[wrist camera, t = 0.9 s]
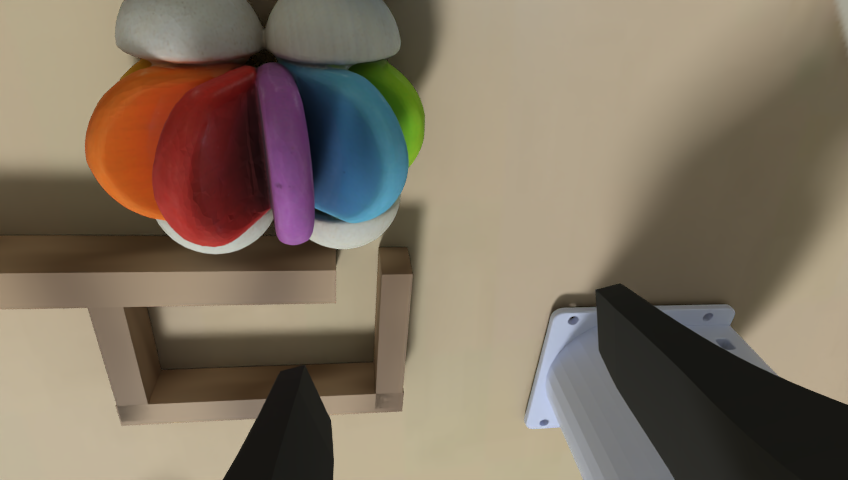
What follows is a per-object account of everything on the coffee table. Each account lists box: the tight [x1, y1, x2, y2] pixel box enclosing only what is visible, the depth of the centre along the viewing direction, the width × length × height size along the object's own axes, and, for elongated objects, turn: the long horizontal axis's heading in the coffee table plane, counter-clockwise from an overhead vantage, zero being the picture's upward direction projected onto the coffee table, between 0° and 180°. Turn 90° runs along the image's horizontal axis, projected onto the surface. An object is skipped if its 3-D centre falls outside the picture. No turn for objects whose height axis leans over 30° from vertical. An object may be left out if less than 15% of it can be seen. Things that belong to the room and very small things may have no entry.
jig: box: [0, 235, 413, 426], centre depth 18 cm, size 22×22×4 cm
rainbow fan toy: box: [85, 0, 425, 254], centre depth 16 cm, size 8×10×7 cm
